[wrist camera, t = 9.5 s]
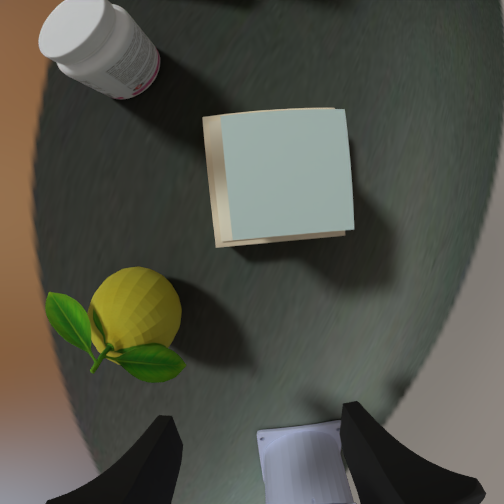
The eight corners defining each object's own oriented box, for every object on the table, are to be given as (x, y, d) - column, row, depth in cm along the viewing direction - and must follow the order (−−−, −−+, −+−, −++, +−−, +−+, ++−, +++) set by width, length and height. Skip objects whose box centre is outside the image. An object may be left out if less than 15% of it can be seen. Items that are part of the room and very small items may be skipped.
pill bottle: (158, 33, 16) (113, -30, 8) (166, 88, 17) (115, 38, 9) (98, 55, 16) (35, 12, 8) (103, 109, 18) (30, 81, 9)
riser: (334, 228, 20) (345, 236, 17) (220, 239, 20) (216, 248, 17) (324, 116, 18) (335, 107, 15) (208, 124, 18) (201, 116, 15)
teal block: (319, 211, 17) (354, 229, 11) (239, 218, 17) (232, 240, 11) (313, 132, 16) (344, 109, 10) (231, 138, 16) (220, 115, 10)
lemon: (101, 260, 20) (13, 315, 10) (171, 235, 20) (103, 286, 10) (136, 339, 22) (80, 426, 12) (204, 323, 21) (174, 421, 11)
